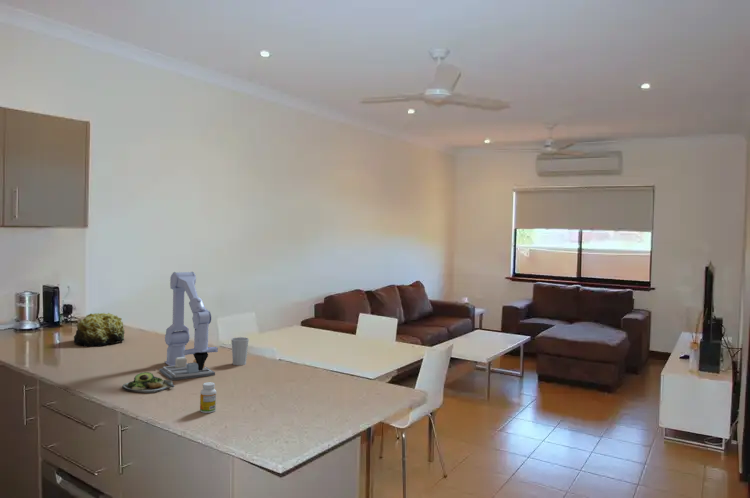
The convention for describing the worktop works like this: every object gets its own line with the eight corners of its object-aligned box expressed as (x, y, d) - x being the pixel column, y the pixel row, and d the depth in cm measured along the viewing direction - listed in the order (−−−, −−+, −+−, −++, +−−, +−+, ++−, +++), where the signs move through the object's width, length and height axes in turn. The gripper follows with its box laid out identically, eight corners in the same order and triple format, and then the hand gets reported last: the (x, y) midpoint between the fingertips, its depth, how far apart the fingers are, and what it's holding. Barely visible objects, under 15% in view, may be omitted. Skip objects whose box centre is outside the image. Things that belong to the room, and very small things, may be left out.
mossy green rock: (109, 336, 318) (110, 308, 318) (133, 342, 304) (133, 314, 304) (64, 342, 298) (64, 313, 298) (87, 349, 284) (88, 318, 283)
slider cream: (175, 367, 250) (175, 357, 249) (184, 366, 252) (184, 356, 252) (177, 369, 247) (177, 358, 247) (186, 368, 250) (186, 358, 249)
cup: (243, 366, 262) (244, 341, 262) (227, 364, 264) (228, 339, 263) (250, 362, 270) (251, 338, 270) (235, 361, 271) (236, 336, 271)
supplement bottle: (201, 408, 200) (202, 381, 200) (217, 408, 200) (218, 381, 200) (198, 413, 194) (199, 385, 194) (214, 413, 195) (215, 385, 195)
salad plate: (186, 385, 229) (186, 374, 229) (157, 397, 212) (157, 385, 211) (147, 379, 234) (147, 368, 234) (115, 390, 217) (116, 379, 217)
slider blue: (186, 373, 241) (186, 363, 240) (195, 372, 243) (196, 362, 243) (188, 375, 238) (189, 364, 238) (198, 374, 241) (198, 363, 240)
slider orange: (193, 369, 248) (193, 358, 248) (201, 368, 251) (202, 358, 251) (195, 370, 246) (195, 360, 246) (204, 369, 248) (204, 359, 248)
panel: (159, 371, 247) (159, 366, 247) (201, 366, 258) (201, 362, 258) (171, 380, 233) (171, 376, 233) (215, 375, 244) (215, 370, 244)
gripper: (187, 341, 235) (186, 373, 235) (220, 339, 243) (219, 369, 244) (182, 338, 240) (181, 370, 241) (214, 336, 249) (213, 366, 249)
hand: (200, 369), depth 243 cm, fingers closed
